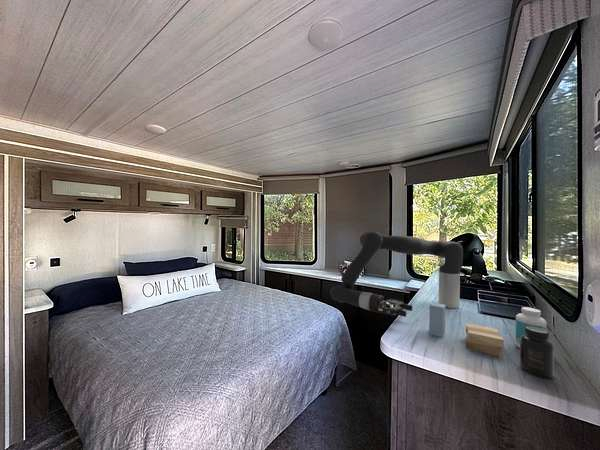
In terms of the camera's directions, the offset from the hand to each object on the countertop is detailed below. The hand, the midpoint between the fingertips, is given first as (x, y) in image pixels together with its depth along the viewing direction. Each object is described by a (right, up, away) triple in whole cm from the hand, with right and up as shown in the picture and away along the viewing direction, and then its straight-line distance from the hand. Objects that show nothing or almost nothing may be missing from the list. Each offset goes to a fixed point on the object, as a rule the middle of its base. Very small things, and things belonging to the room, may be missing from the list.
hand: (409, 311), depth 96 cm
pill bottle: (+33, -7, -17) cm, 38 cm away
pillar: (+8, -6, -7) cm, 12 cm away
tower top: (+18, -4, -16) cm, 24 cm away
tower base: (+18, -7, -16) cm, 25 cm away
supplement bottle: (+23, -7, -29) cm, 37 cm away
